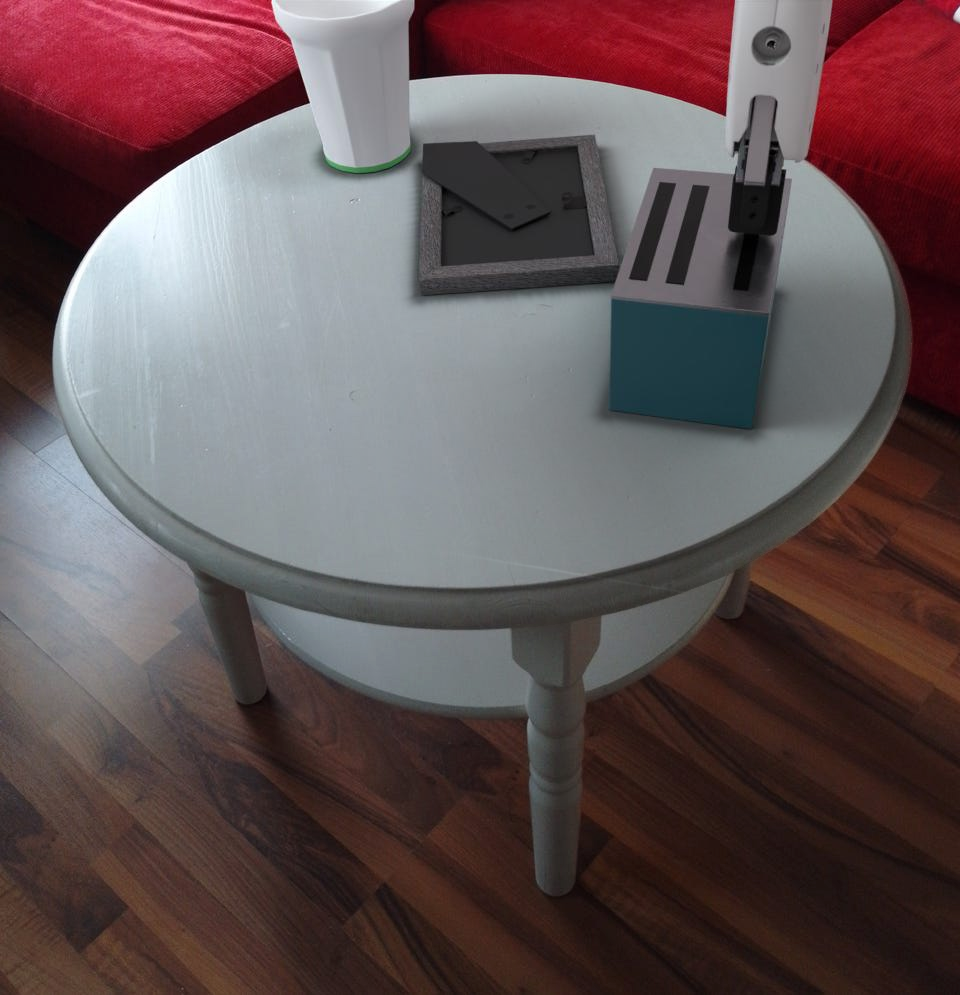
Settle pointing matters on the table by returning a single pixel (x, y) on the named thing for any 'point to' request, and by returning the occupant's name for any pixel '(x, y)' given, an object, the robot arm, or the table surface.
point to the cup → (354, 76)
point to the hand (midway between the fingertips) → (753, 226)
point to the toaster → (692, 304)
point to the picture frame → (514, 216)
